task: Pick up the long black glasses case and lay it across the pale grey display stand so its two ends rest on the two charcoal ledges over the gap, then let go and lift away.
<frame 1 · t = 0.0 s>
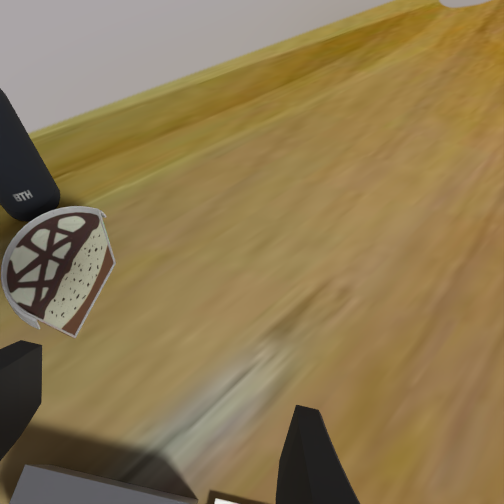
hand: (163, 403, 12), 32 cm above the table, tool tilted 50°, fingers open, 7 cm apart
food container: (71, 290, 47), on the table
black bottle: (33, 200, 51), on the table
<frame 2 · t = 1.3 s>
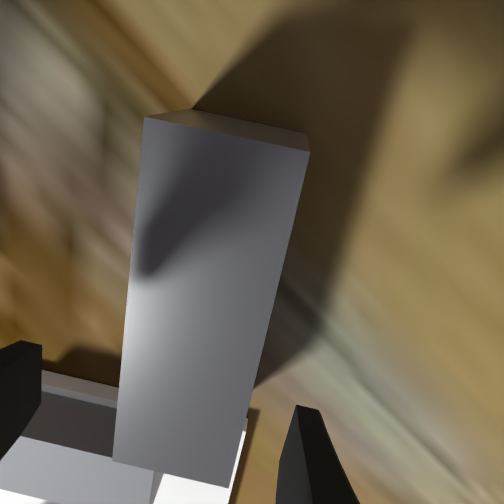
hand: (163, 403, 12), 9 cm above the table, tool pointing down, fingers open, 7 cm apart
display stand: (100, 480, 26), on the table
glasses case: (222, 267, 20), on the table
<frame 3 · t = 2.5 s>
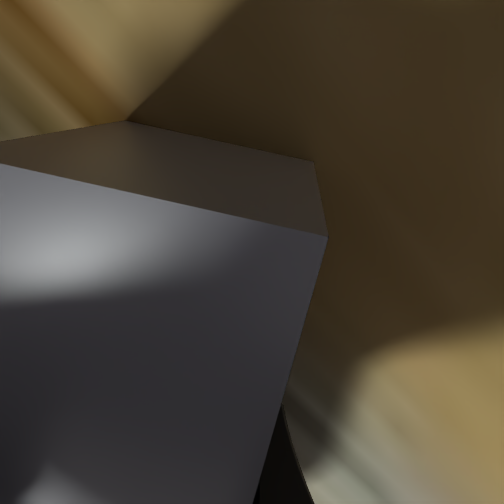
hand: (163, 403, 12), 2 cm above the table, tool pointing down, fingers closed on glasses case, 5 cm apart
glasses case: (182, 360, 13), on the table, touching gripper
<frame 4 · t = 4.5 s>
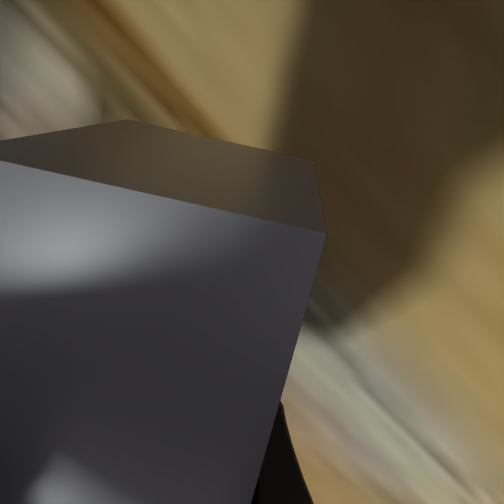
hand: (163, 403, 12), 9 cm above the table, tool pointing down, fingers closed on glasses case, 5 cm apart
glasses case: (183, 358, 14), point 7 cm above the table, touching gripper
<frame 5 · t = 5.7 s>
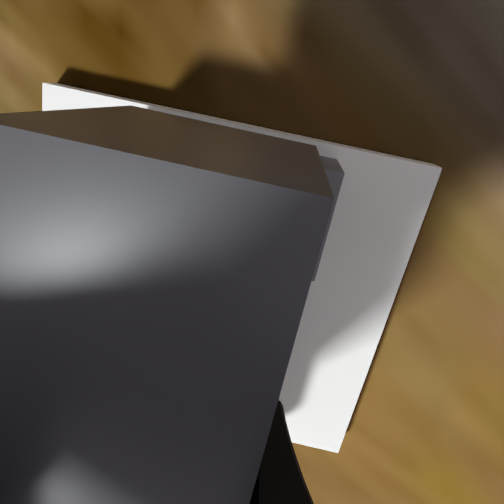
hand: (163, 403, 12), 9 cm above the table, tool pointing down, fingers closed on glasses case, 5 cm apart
display stand: (214, 283, 20), on the table
glasses case: (186, 346, 14), point 7 cm above the table, touching gripper
when the fingers open (7 cm above the table, at t = 6.7 s): glasses case drops 1 cm, resting on display stand.
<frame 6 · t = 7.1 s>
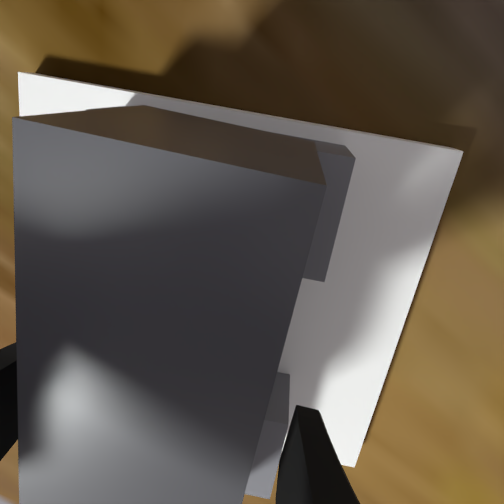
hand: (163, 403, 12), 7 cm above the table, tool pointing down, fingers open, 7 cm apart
display stand: (214, 287, 18), on the table
glasses case: (194, 328, 15), point 4 cm above the table, touching display stand
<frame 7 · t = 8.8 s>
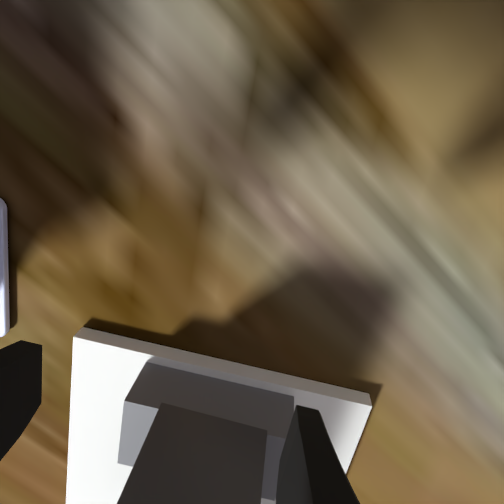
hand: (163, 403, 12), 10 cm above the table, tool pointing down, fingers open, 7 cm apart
display stand: (203, 459, 26), on the table
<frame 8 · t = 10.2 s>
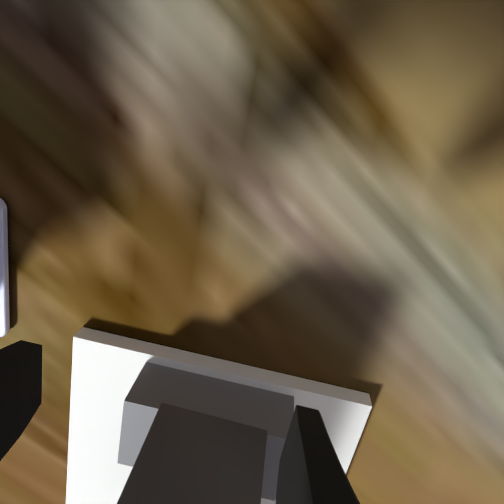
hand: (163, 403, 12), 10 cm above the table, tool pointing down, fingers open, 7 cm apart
display stand: (203, 459, 26), on the table
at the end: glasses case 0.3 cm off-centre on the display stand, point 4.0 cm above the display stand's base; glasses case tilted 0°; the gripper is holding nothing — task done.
